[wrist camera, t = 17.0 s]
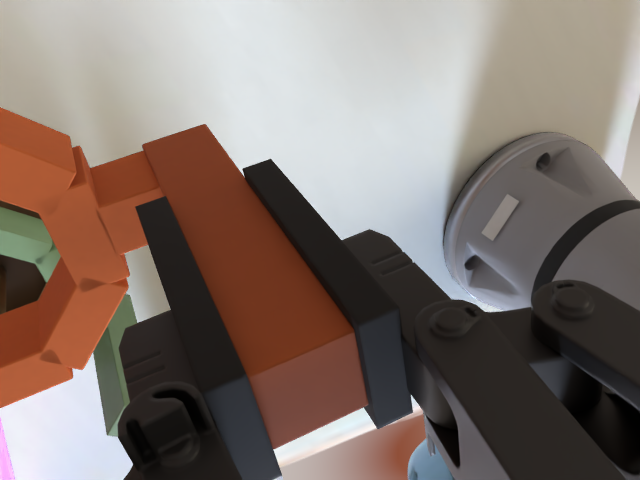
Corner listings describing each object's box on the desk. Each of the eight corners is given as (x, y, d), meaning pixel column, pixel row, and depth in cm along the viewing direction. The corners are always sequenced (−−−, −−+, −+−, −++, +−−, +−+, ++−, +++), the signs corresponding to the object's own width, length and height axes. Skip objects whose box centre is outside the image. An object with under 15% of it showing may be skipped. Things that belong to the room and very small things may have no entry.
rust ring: (-120, 399, 19) (-227, 819, 11) (-334, 158, 14) (-841, 582, 6) (246, 257, 22) (388, 501, 13) (172, 15, 17) (325, 161, 8)
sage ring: (-119, 316, 33) (-161, 465, 25) (-64, 186, 31) (-91, 301, 23) (95, 358, 40) (117, 485, 32) (152, 253, 38) (190, 361, 30)
